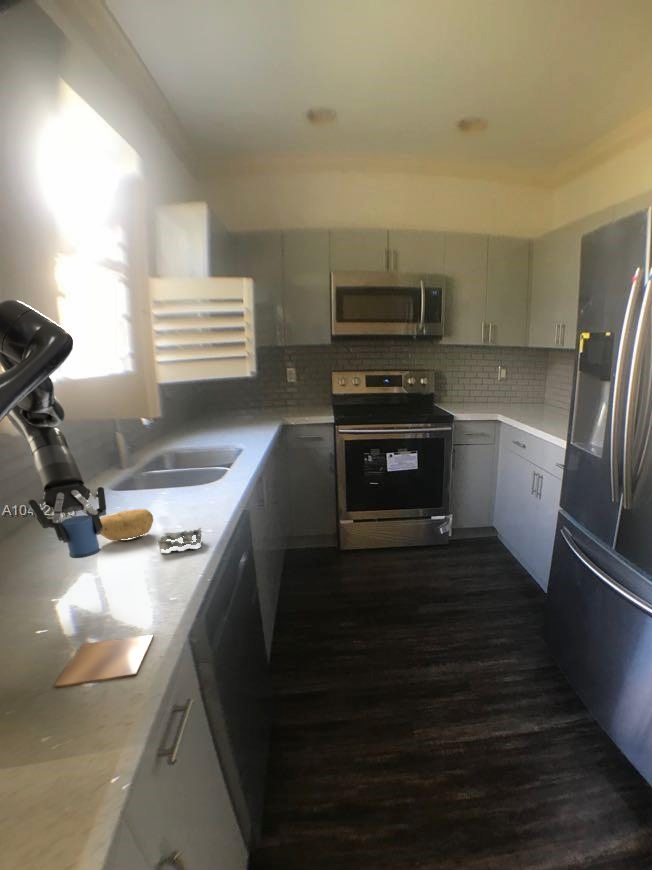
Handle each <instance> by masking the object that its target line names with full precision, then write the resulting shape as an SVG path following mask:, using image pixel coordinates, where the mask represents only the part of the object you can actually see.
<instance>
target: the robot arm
mask: <svg viewBox="0 0 652 870" xmlns="http://www.w3.org/2000/svg"><path fill="white" fill-rule="evenodd" d="M74 345H75V341H74V337H73V335H72V334H71V333H70V332H69V331H68V330H66V329H65V328H64V327H62V326H61V325H59V324H58V323H56V322H55V321H53V320H52V319H50V318H49V317H47V316H46V315H44V314H43V313H40V312H39V311H38V310H36V309H34V308H33V307H31V306H30V305H27V304H25V303H24V302H22V301H19V300H16V299H6V300H2V301H1V302H0V365H1V367H2V369H3V370H4V372H1V373H0V423H1V422H2V421H3V420H4V419H5V417H6V418H7V419H8V422H10V424H11V425H12V426H13V427H14V428H15V430H17V432H18V433H19V434H20V435H21V436H22V438H23V439H24V441H25V443H26V445H27V447H28V449H29V452H30V455H31V458H32V462H33V463H32V464H33V468H34V471H35V474H36V476H37V479H38V481H39V485H40V487H41V490H42V493H43V496H42V498H40V499H37V500H35V499H29V500H28V506H29V510H30V511H31V513H32V514H33V515H34V517H35V519H36V521H38V523H39V524H40V526H41V527H42V529H48V528H52V529H53V530H54V532H55V534H56V537H57V540H58V541H59V542H63V544H67V542H68V540H67V536H66V533H65V531H64V528H63V525H62V523H61V522H62V521H63V517H64V514H69V513H71V512H79V511H81V512H82V513H83V514H84V515H88V516H91V517H92V520H93V524H94V528H95V532H96V535H97V536H99V535H100V534H101V531H102V530H103V526H102V523H101V521H100V519H101V517H105V516H107V503H106V495H105V488H104V487H102V486H100V487H97V488H96V489H90V488H88V486H86V485H85V482H84V479H83V476H82V474H81V471H80V470H79V467H78V464H77V462H76V459H75V457H74V455H73V454H72V452H71V449H70V447H69V445H68V443H67V440H66V436H65V435H64V433H63V432H62V431H61V430H60V429H58V428H56V426H57V427H58V426H59V425H61V424H62V423H63V422H64V420H65V416H66V414H65V410H64V408H63V406H62V403H61V402H60V401H59V399H58V398H57V397H56V396H55V387H54V382H53V380H52V378H51V375H53V374H54V373H55V372H56V371H57V370H58V369H59V368H60V367H61V366H62V365H63V364H64V363H65V361H66V360H67V359H68V358H69V356H71V355H70V354H71V353H72V351H73V350H74ZM90 496H91V497H93V499H94V500H95V501H96V500H97V502H98V508H94V506H93V505H92V504H91V502H90V501H88V500H89V499H90ZM45 505H46V506H48V507H50V508H51V509H53V516H52V518H48V517H47V516H46V514H45V512H44V511H43V510H45V509H44V507H45Z"/></svg>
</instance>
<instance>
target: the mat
mask: <svg viewBox="0 0 652 870" xmlns="http://www.w3.org/2000/svg"><path fill="white" fill-rule="evenodd" d="M154 637H155V635H154V634H148V635H139V636H133V637H126V638H125V637H124V638H117V639H110V640H103V641H97V642H96V641H95V642H89V643H88V642H87V643H82V644H81V645H80V647H79V648H78V649H77V650H76V653H75V654H74V656H73V657H72V659H71V660H70V662H69V663H68V665H67V666H66V667H65V669H64V670H63V672H62V674H61V675H60V676H59V678H58V680H57V681H56V683H55V684H54V689H57V688H64V687H70V686H74V685H75V686H76V685H77V686H78V685H83V684H89V683H97V682H104V681H110V680H116V679H122V678H130V677H136V676H137V675H138V673H139V671H140V668H141V666H142V664H143V662H144V660H145V657H146V655H147V653H148V650H149V649H150V646H151V644H152V641H153V639H154Z"/></svg>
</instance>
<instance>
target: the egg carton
mask: <svg viewBox="0 0 652 870" xmlns="http://www.w3.org/2000/svg"><path fill="white" fill-rule="evenodd" d="M193 535H196V539H197V540H196V542H193V543H192V542H191V541H193V540H192V536H193ZM202 535H203V534H202V527H199V528H197V529H193V530H189V531H188V530H184V531H178V532H167V533H164V534H163V535H161V536H160V538H159V540H157V544H158V547H159V550H160V549H164V550H166V549H169V548H170V547H173V546H178V547H182V546H184V545H186V544H191V545H196V544H197V543H200V542H201V537H202ZM183 536H184V537H183ZM180 537H182V538H183V542H184V543H182V544H181V543H179V542H178V541H175V542H171V541H166V540H167V539H171V540H175V539H178V538H180ZM202 538H203V537H202ZM201 543H202V542H201Z"/></svg>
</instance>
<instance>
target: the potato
mask: <svg viewBox="0 0 652 870" xmlns="http://www.w3.org/2000/svg"><path fill="white" fill-rule="evenodd" d="M100 521H101V523H102V526H103V530H102V531H101V534H99V535H101V536H102V537H104V538H105V539H108V540H110V541H115V540H121V539H128V538H133V537H137V536H140V535H143V534H144V535H146V534H148V533H149V532H150V530H151V529H152V526H153V523H154V515H153V514H152V512H151V511H150V510H148V509H147V508H139V509H131V510H130V509H129V510H122V511H119V512H115V513H112V514H111V513H110V514H108V515H107V514H106V515H104V516H102V518H100ZM144 535H143V536H144ZM140 537H141V536H140Z"/></svg>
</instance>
